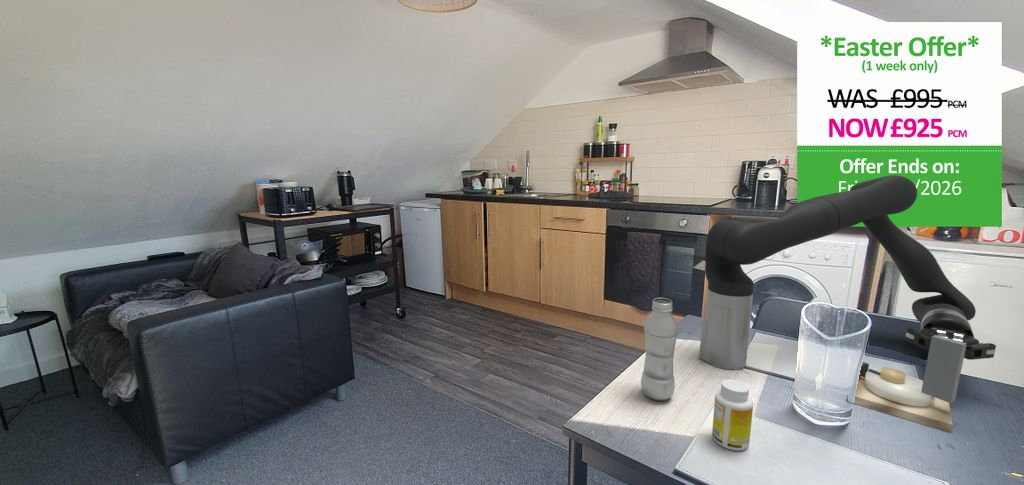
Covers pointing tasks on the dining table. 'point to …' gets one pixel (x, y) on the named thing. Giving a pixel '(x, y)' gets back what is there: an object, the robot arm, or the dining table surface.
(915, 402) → the dial
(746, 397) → the supplement bottle
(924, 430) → the dining table surface
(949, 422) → the level stand
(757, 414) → the dining table surface
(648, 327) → the plastic bottle
